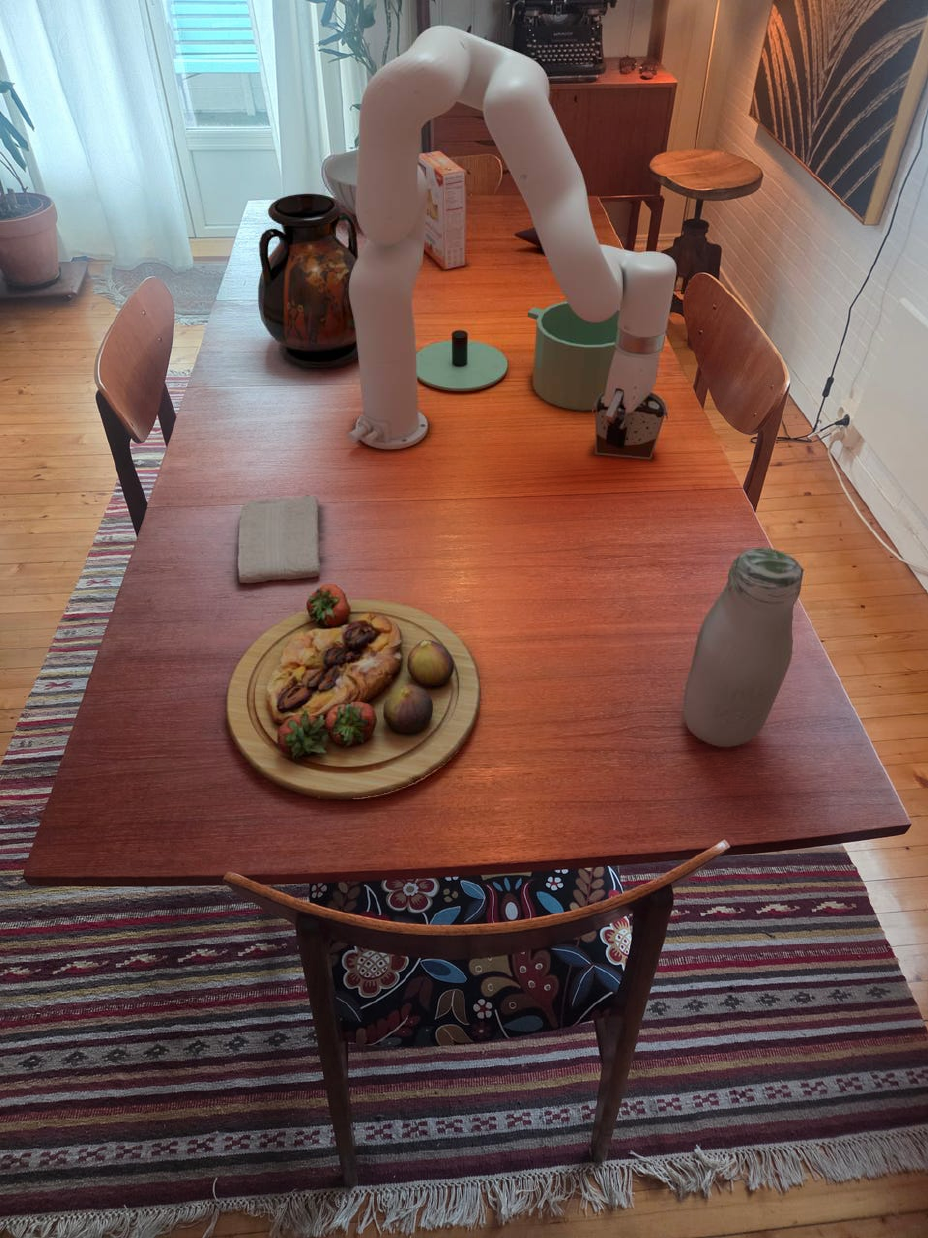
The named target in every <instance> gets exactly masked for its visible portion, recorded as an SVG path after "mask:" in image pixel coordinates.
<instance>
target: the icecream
mask: <svg viewBox="0 0 928 1238" xmlns="http://www.w3.org/2000/svg"><path fill="white" fill-rule="evenodd" d="M514 237H516V238H519V239H520V240H523V241H525V242H527V243H530V244H532V245H535V246H536V247H539V248H540V250H541V251H542V253H544V250H543V247H542V245H541V242H540V240H539V237H538V234H537V232H536V230H535V227H534V226H533V227H531V228H528V229H524V230H521V231H518V232H515V233H514ZM544 254H545V253H544Z"/></svg>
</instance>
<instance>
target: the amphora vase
mask: <svg viewBox="0 0 928 1238" xmlns="http://www.w3.org/2000/svg"><path fill="white" fill-rule="evenodd" d="M267 214H268V217H269V218H270V219H271V221H273V222H275V223H276V224H279V225H281V229H282V231H281V230H280V229H278V228H269V229H266V230H265V231H263V233H262V234H260V235H261V236H260V238H259V242H258V250H259V251H258V252H259V253H258V254H259V259H260V264H261V265H260V266H261V273H260V276H259V281H258V286H257V304H258V311H259V315H260V319H261V322H262V324H263V325H264V327H265V329H266V330H267V332H268V333H269V334H270V335H271V337H272V338H274V340H275V341H276V342H278V343H279V345H278V351H279V352H278V353H279V355H280V357H281V358H282V359H283V361H285V362H286V363H288V364H289V365H291V366H292V367H296V368H298V369H302V370H308V371H328V370H334V369H337V368H342V367H344V366H346V365H348V364H351V363H352V362H354V361H355V360H357V358H358V350H357V340H356V330H355V323H354V317H353V313H352V308H351V304H350V298H349V281H350V276H351V272H352V269H353V267H354V265H355V263H356V261H357V259H358V257H359V249H358V248H359V247H358V234H357V233H358V232H357V227H356V223H355V221H354V219H353V218H352V216H351V215H350V213H347V212H345V211H343V207H342V204H341V203H340V201H339V200H338V199H337V198H336V199H335V198H333V197H331V196H328V195H326V194H320V193H295V194H289V195H286V196H283V197H281V198H279V199H276V200H275V201H274V202H272V203H271V204H270V205H269V207H268V209H267ZM343 221H344V222H345V225H346V229H347V235H348V236H347V237H348V238H347V240H348V243H347V244H348V246H346V245H345V244H344V243H343V242H342V241H341V240H339V238H338V237H337V227H338V225H339V224H340V222H343ZM273 238H278V240H279V243H278V244H277V245H276V247H275V248H274V249H273V250H272V252H271V253H270V255H269V245H270V241H271V240H272V239H273Z"/></svg>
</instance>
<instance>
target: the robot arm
mask: <svg viewBox="0 0 928 1238" xmlns="http://www.w3.org/2000/svg"><path fill="white" fill-rule="evenodd" d="M550 91H551V89H550V81H549V78H548V75H547V73H546V71H545V70H544V68H543V67H542V66H541V64H539V63H538V62H537V61H535V60H534V59H532V58H531V57H529V56H526V55H525V54H522V53H520V52H518V51H515V50H513V49H511V48H507V47H505V46H502V45H500V44H497V43H495V42H493V41H489V40H487V39H485V38H482V37H480V36H478V35H475V34H473V33H470V32H467V31H465V30H463V29H460V28H457V27H453V26H449V25H436V26H431V27H429V28H427V29H425V30H424V31H423V32H421V33H420V34H419V35H418V36H417V37H416V39H415V40H414V41H413V43H412V44H411V45H410V47H409V48H408V49H407V51H405V52H404V53H402V54H400V55H399V56H397V57H395V58H394V59H392V60H390V61H388V62H387V63H386V64H384V65H382V66H381V67H380V68H379V69H378V70H377V71H376V72H375V73H374V74H373V76H372V77H371V79H370V80H369V82H368V83H367V85H366V87H365V89H364V91H363V94H362V98H361V103H360V108H359V121H358V146H357V150H358V158H357V188H356V202H355V209H356V215H355V216H356V221H357V224H358V226H359V229H360V231H361V232H362V234H363V235H364V236H365V240H364V242H365V243H364V246H363V247H362V249H361V250H360V251H361V252H360V253H359V254H358V259H357V261H356V263H355V265H354V267H353V269H352V272H351V276H350V281H349V298H350V304H351V308H352V313H353V317H354V323H355V330H356V340H357V350H358V357H357V358H358V359H357V360H358V368H359V381H360V391H361V392H360V393H361V404H362V413H361V414H360V415H359V417H358V418H357V420H356V422H355V428H354V429H353V430H351V431H350V432H348V433H347V436H346V438H347V440H348V441H349V442H350V443H351V444H356V443H357V442H359V441H361V442H362V443H364V444H365V445H367V446H369V447H372V448H375V449H378V450H379V449H380V450H400V449H401V450H402V449H405V448H408V447H411V446H415V445H416V444H417V443H419V442H421V441H422V440H423V439H424V438H425V437H426V436H427V433H428V429H429V428H428V427H429V425H428V419H427V418H426V416H425V415H424V414H423V413H422V412H421V411H419V391H418V378H417V362H416V354H417V345H416V344H417V343H416V327H415V319H414V313H413V311H414V310H413V294H414V290H415V286H416V284H417V280H418V278H419V275H420V272H421V269H422V265H423V261H424V252H425V250H424V240H425V228H426V215H427V202H428V187H427V181H426V178H425V175H424V173H423V171H422V169H421V168H420V166H419V165H418V160H419V153H420V150H421V131H422V129H423V127H424V125H426V123H427V122H429V121H430V120H433V119H435V118H438V117H439V116H442V115H444V114H445V113H447V112H449V111H450V110H451V109H452V108H453V107H454V106H455V104H456V103H460V104H463V105H465V106H468V107H470V108H472V109H475V110H478V111H481V112H482V114H483V119H484V122H485V125H486V127H487V129H488V132H489V134H490V136H491V138H492V140H493V142H494V144H495V146H496V148H497V150H498V152H499V154H500V155H501V157H502V159H503V162H504V163H505V166H507V169H508V171H509V173H510V175H511V177H512V179H513V181H514V183H515V185H516V187H517V189H518V191H519V192H520V194H521V197H522V198H523V201H524V202H525V205H526V207H527V209H528V211H529V215H530V218H531V221H532V225H533V228H534V227H535V230H536V232H537V234H538V237H539V240H540V242H541V245H542V247H543V250H544V256H545V258H546V261H547V263H548V265H549V268H550V270H551V273H552V275H553V277H554V279H555V281H556V282H557V284H558V286H559V288H560V290H561V292H562V294H563V296H564V298H565V300H566V301H567V302H568V304H569V305H570V307H571V308H572V310H573V311H574V312H575V313H576V314H577V315H578V316H579V317H580V318H582V319H583V320H585V321H589V322H602V321H605V320H607V319H609V318H610V317H612V316H613V315H614V314H615V313H616V311H617V310H618V308H620V310H619V318H618V324H617V332H616V339H615V347H616V348H617V349H616V350H615V353H614V356H613V359H612V363H611V367H610V371H609V376H608V381H607V386H606V392H605V398H604V406H605V407H609V408H608V410H607V412H606V415H605V417H606V419H607V424H608V429H607V436H606V443H607V444H609V445H612V446H615V447H617V448H620V449H622V448H623V447H624V445H625V439H626V432H627V427H625V425H626V422H627V419H628V416H629V413H631V412H633V411H634V410H635V409H636V408H637V407H638V406H639V405H640V404H641V403H642V402H643V401H644V400H645V399H646V398H647V397H648V396H649V395H650V393H651V392H652V393H653V391H654V389H655V386H656V382H657V377H658V372H659V364H660V356H661V353H662V352H663V350H664V345H665V341H666V335H667V330H668V329H667V328H668V324H669V318H670V312H671V307H672V301H673V297H674V296H673V295H674V289H675V285H676V277H677V271H678V268H677V264H676V262H675V260H674V259H673V258H672V257H671V256H670V255H668V254H666V253H662V252H659V251H641V252H637V251H632V250H628V249H624V248H619V247H616V246H612V245H608V244H600V242H599V240H598V237H597V234H596V231H595V228H594V224H593V221H592V217H591V213H590V206H589V199H588V192H587V186H586V183H585V179H584V176H583V173H582V171H581V168H580V166H579V164H578V162H577V160H576V157H575V156H574V153H573V151H572V149H571V147H570V145H569V143H568V141H567V139H566V136H565V134H564V132H563V129H562V127H561V125H560V123H559V121H558V119H557V116H556V114H555V112H554V110H553V108H552V105H551V104H550V100H549V99H550ZM621 404H623V405H624V407H625V408H626V409H624V408H621V407H620V405H621ZM618 411H619V412H622V413H624V414H623V417H622V420H621V419H620V418H618V417H617V412H618Z"/></svg>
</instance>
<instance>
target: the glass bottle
mask: <svg viewBox="0 0 928 1238" xmlns="http://www.w3.org/2000/svg"><path fill="white" fill-rule="evenodd" d="M804 571H805V568H803V567H802V566H801V564H800V563H799V562H798V560H796V559H795V558H794V557H793V556H791V555H788V554H787V553H785V552H783V551H780V550H777V549H774V548H773V549H772V548H768V547H767V548H765V547H761V548H760V547H759V548H752V549H749V550H747V551H744V552H742V553H741V554H739V555H738V556H737V557H736V558H735V559H734V560H733V562H732V564H731V565H730V567H729V570H728V574H727V581H726V584H725V586H724V589H723V590H722V592H721V593H720V595H719V596H718V597H717V599H716V600H715V601H714V603H713V605H712V606H711V608H710V610H708V612H707V614H706V615H705V617H704V619H703V621H702V623H701V626H700V627H699V631H698V634H697V638H696V643H695V647H694V651H693V652H694V653H693V658H692V660H691V661H692V662H691V665H690V669H689V673H688V676H687V680H686V684H685V688H684V689H685V690H684V694H683V695H684V696H683V702H682V715H683V718H684V722H685V723H686V727H687V729H688V730H689V731H690V733H691V734H692V735H694V737H696V739H699V740H701V741H702V742H704V743H706V744H709V745H712V746H715V747H719V748H730V747H731V748H732V747H738V746H740V745H744V744H746V743H748V742H750V741H751V740H753V739H755V737H757V736H758V735H759V733H760V732H761V731H762V730H763V728H764V726H765V725H766V722H767V720H768V718H769V716H770V714H771V710H772V708H773V707H774V704H775V702H776V699H777V697H778V694H779V692H780V690H781V687H782V684H783V682H784V679H785V678H786V674H787V673H788V669H789V667H790V664H791V661H792V657H793V655H792V654H793V646H794V639H793V638H794V637H793V619H794V606H795V604H796V602H797V601H798V599H799V597H800V594H801V590H802V581H803V575H804Z"/></svg>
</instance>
